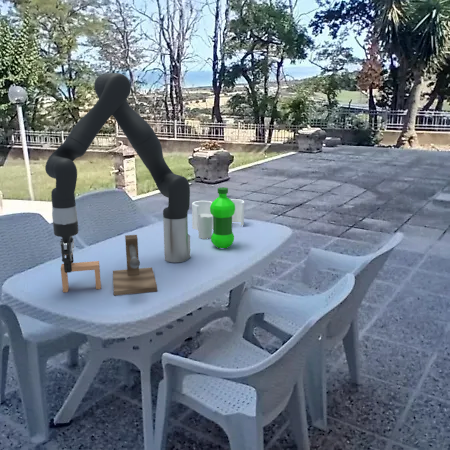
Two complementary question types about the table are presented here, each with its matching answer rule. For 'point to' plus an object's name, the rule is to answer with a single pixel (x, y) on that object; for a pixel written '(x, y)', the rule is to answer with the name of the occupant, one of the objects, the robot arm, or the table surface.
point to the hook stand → (133, 272)
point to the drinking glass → (205, 225)
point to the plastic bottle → (222, 219)
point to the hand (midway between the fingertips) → (69, 267)
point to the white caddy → (204, 208)
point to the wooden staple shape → (81, 267)
